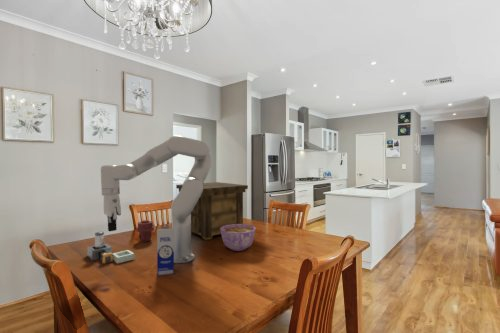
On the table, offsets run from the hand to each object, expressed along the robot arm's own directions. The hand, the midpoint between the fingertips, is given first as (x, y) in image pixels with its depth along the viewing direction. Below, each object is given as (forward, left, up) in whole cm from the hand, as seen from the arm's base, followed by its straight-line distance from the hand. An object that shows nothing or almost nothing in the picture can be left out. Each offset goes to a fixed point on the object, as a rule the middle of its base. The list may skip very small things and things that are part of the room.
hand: (112, 230), depth 125 cm
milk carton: (-24, -14, -17) cm, 33 cm away
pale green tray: (+5, -6, -17) cm, 18 cm away
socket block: (+18, +1, -17) cm, 25 cm away
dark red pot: (+28, -27, -17) cm, 43 cm away
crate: (+15, -68, -17) cm, 72 cm away
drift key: (+10, +1, -16) cm, 19 cm away
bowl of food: (-23, -58, -17) cm, 65 cm away
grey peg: (+18, +1, -17) cm, 25 cm away
